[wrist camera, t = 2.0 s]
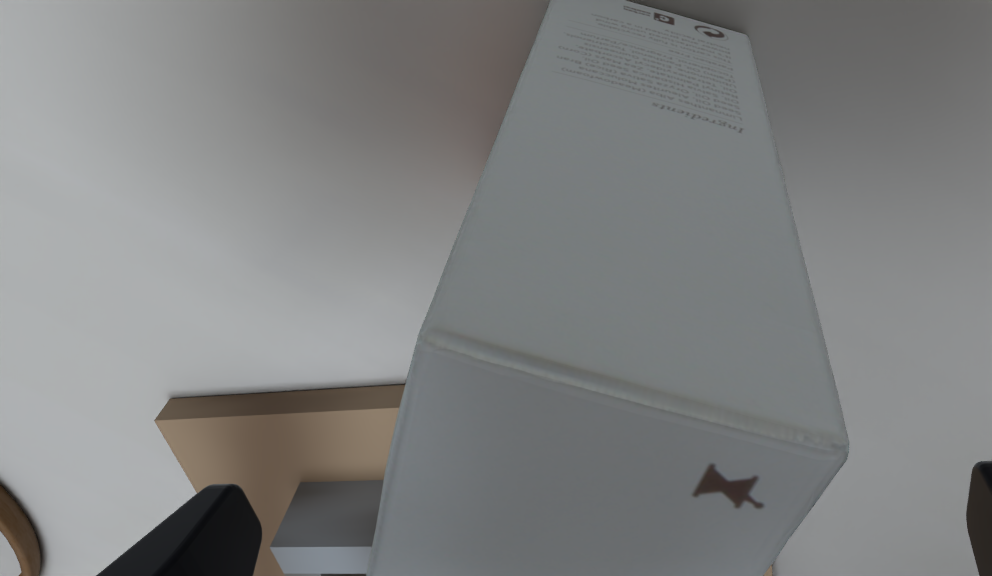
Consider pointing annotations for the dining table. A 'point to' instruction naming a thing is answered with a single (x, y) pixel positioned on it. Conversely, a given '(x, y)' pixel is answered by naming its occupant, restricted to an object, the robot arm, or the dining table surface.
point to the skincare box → (617, 327)
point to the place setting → (19, 534)
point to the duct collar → (295, 468)
